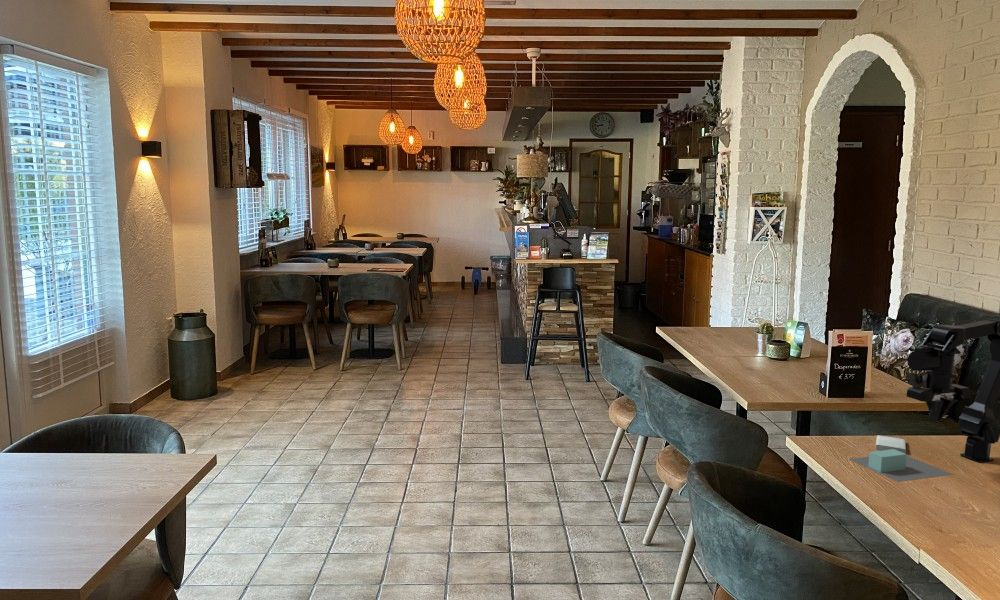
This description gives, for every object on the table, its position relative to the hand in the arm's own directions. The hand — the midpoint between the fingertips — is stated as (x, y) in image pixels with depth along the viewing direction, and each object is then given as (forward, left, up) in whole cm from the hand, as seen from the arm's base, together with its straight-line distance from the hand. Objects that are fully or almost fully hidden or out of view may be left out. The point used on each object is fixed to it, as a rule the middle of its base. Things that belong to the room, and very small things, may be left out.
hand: (935, 421), depth 219 cm
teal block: (+12, 0, -10) cm, 16 cm away
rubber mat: (+12, 0, -13) cm, 18 cm away
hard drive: (0, -15, -13) cm, 20 cm away
